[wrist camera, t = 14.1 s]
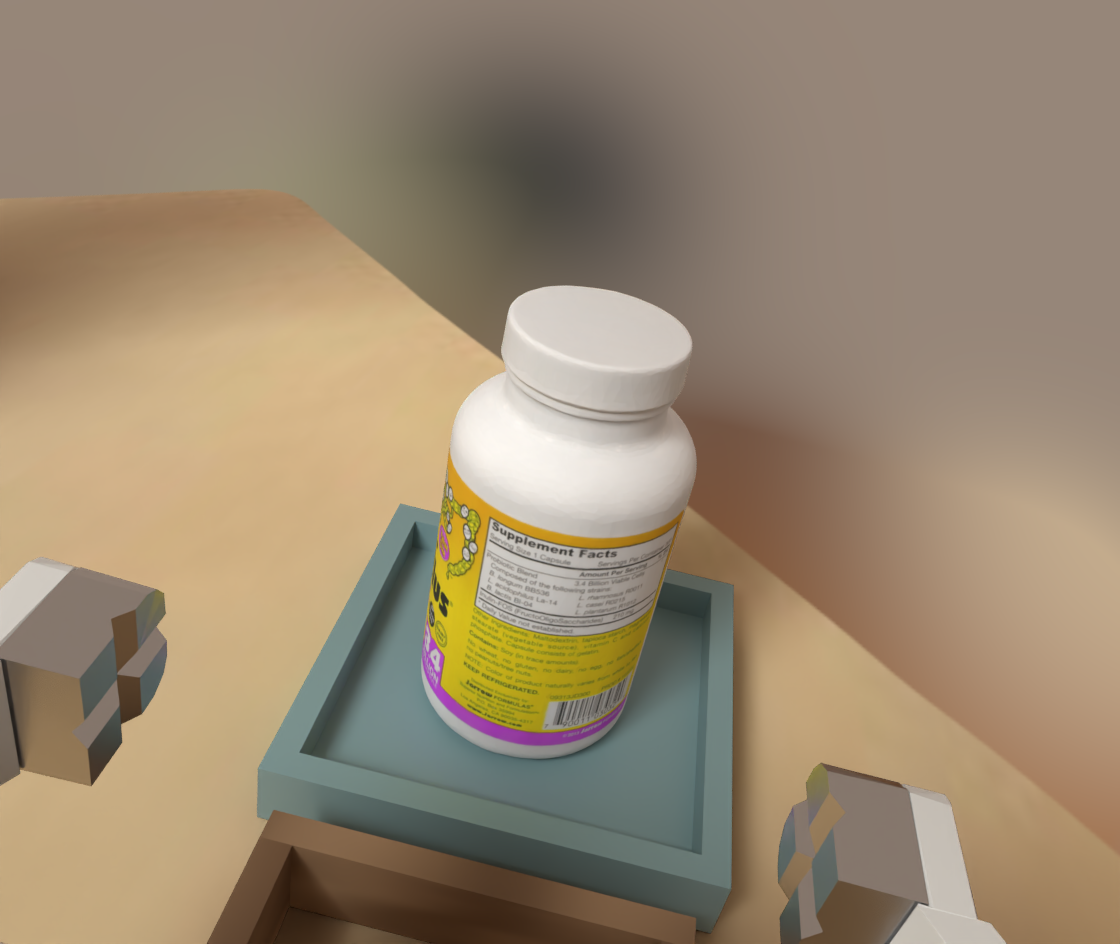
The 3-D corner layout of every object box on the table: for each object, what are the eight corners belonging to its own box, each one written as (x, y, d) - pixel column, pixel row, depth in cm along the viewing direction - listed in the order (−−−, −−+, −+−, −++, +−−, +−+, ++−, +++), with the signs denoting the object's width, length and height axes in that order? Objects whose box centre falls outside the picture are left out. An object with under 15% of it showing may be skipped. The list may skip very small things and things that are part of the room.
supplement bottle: (457, 593, 34) (513, 246, 27) (638, 648, 33) (743, 308, 26) (383, 729, 28) (430, 338, 22) (600, 800, 28) (720, 419, 21)
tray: (257, 816, 26) (257, 768, 25) (395, 546, 37) (400, 503, 36) (710, 933, 26) (731, 889, 25) (718, 625, 36) (733, 585, 35)
